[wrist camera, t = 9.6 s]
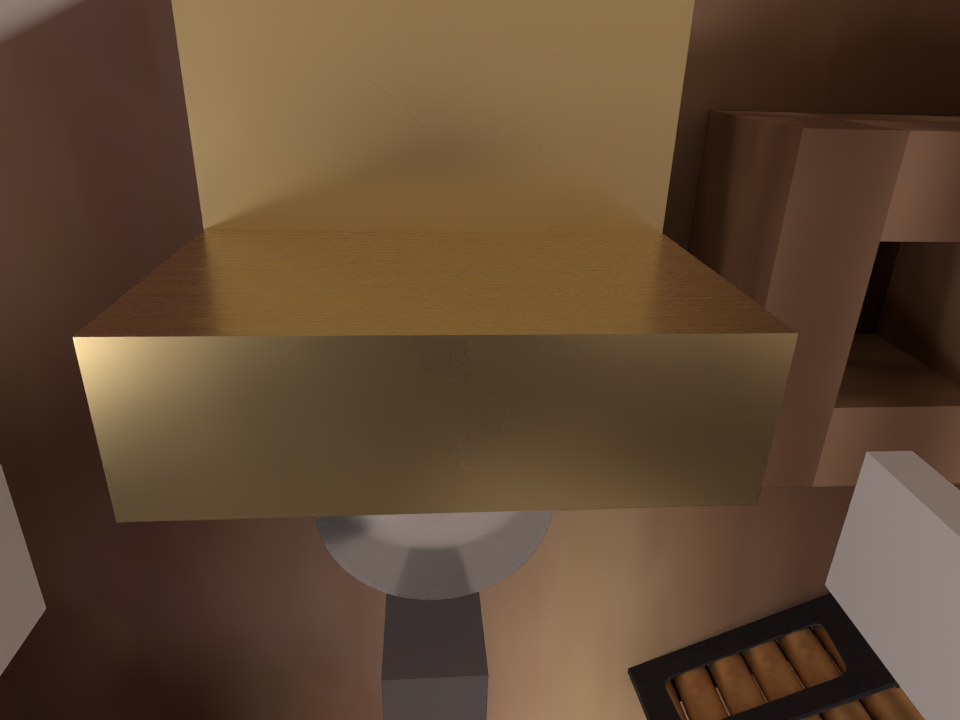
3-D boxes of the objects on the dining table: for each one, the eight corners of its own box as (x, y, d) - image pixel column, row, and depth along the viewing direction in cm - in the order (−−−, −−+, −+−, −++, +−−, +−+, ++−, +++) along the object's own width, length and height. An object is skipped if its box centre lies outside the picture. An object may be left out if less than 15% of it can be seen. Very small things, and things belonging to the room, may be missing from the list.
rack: (664, 401, 27) (725, 489, 22) (710, 110, 23) (802, 128, 17) (921, 398, 28) (1042, 480, 23) (1015, 117, 24) (1194, 136, 18)
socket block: (270, 418, 26) (124, 778, 13) (231, 81, 21) (-62, 125, 8) (577, 414, 27) (722, 742, 14) (609, 91, 22) (877, 144, 9)
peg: (371, 320, 25) (322, 604, 12) (367, 211, 23) (304, 405, 10) (480, 320, 25) (545, 595, 12) (484, 212, 23) (562, 401, 11)
